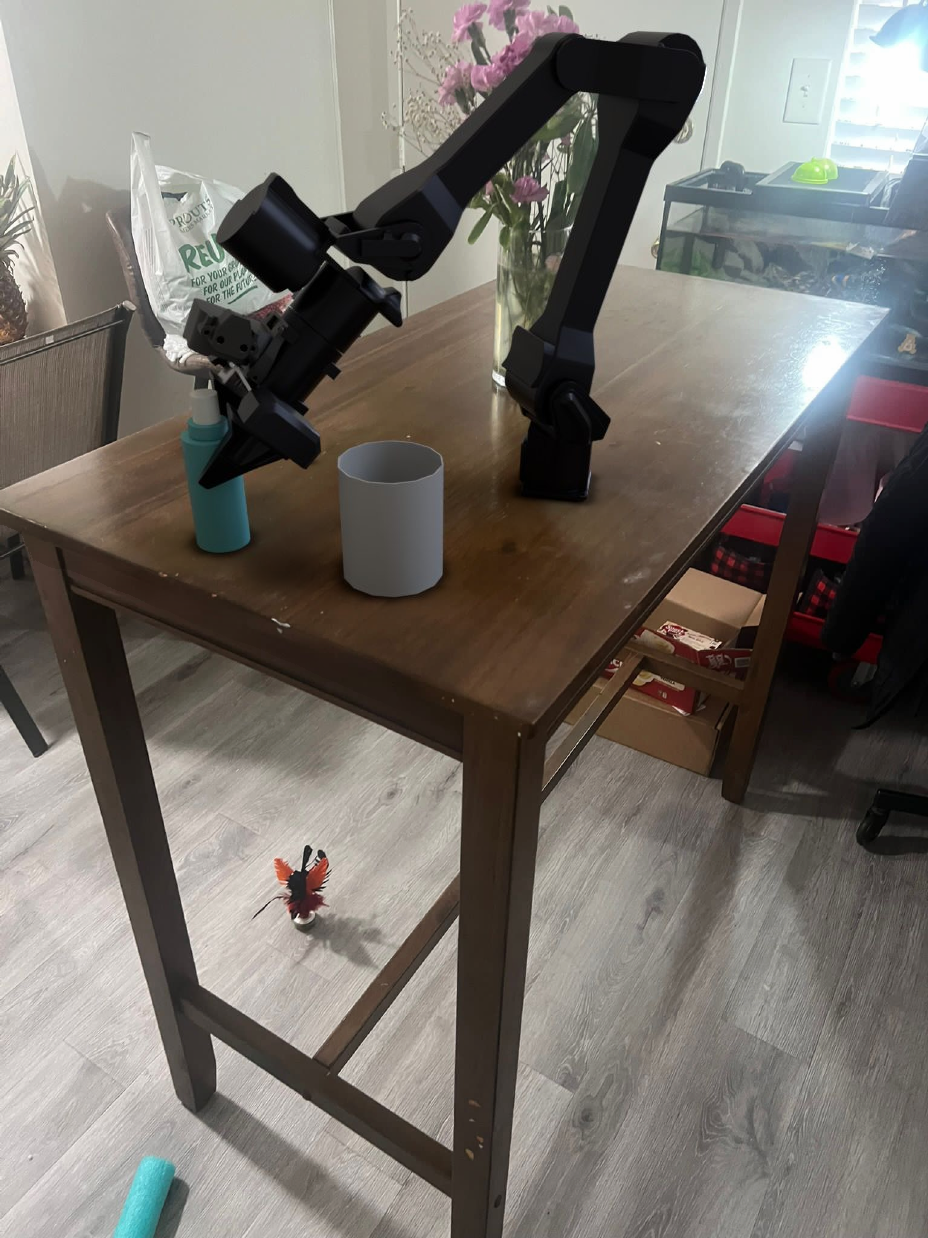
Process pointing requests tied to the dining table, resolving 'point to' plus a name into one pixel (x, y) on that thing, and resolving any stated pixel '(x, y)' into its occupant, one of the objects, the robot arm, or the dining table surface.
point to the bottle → (225, 504)
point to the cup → (391, 517)
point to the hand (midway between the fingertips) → (197, 474)
